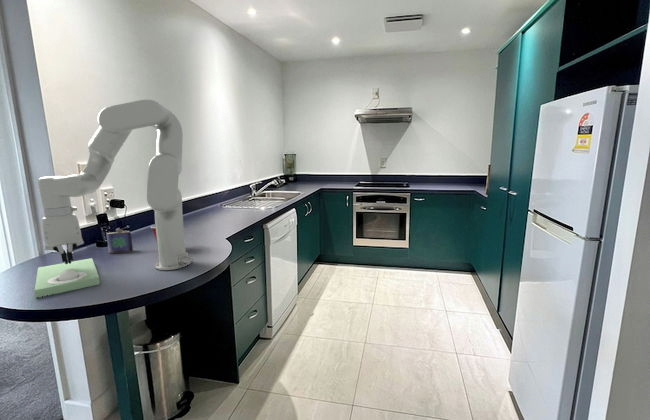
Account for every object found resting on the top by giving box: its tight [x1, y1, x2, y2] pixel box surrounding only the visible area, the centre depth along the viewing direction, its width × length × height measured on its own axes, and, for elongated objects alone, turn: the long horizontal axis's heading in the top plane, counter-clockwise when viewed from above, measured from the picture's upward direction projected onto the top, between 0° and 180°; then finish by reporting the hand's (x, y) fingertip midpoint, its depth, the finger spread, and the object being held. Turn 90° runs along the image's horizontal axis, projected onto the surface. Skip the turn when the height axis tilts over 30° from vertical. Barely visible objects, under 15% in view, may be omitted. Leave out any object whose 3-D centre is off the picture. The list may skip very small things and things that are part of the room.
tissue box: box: [34, 257, 101, 299], centre depth 112 cm, size 26×16×3 cm, turn 39°
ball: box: [59, 270, 78, 281], centre depth 107 cm, size 5×5×5 cm
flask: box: [105, 227, 134, 254], centre depth 143 cm, size 9×3×11 cm, turn 109°
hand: (68, 262), depth 115 cm, fingers closed
